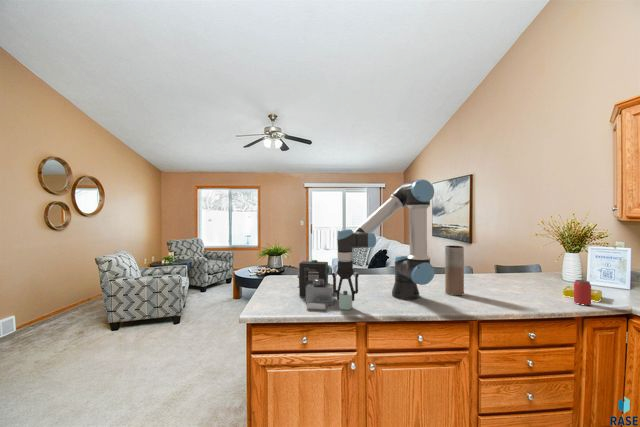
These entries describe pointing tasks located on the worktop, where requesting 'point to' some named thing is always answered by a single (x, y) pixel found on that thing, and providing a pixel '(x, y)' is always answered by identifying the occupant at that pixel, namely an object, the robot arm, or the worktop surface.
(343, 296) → the block
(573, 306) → the worktop surface
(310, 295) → the motor
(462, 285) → the vase
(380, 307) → the worktop surface
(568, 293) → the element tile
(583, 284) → the beer can
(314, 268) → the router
